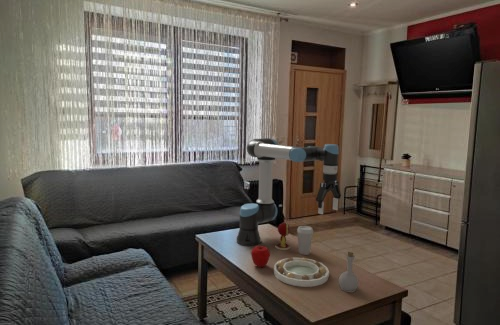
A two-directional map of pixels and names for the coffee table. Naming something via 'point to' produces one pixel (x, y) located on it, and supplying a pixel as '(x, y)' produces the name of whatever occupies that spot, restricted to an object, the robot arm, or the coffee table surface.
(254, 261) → the apple
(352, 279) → the potion bottle
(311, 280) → the bead tray
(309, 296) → the coffee table surface
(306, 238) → the coffee cup
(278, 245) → the figurine
